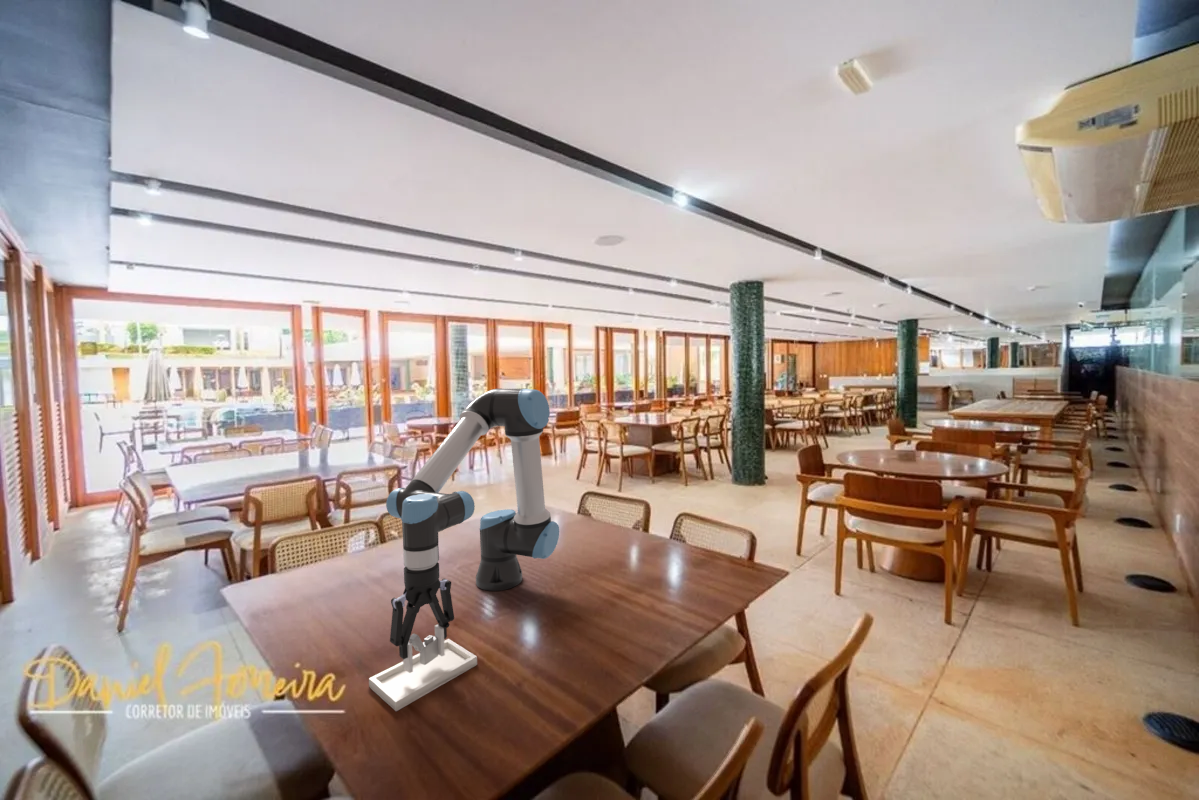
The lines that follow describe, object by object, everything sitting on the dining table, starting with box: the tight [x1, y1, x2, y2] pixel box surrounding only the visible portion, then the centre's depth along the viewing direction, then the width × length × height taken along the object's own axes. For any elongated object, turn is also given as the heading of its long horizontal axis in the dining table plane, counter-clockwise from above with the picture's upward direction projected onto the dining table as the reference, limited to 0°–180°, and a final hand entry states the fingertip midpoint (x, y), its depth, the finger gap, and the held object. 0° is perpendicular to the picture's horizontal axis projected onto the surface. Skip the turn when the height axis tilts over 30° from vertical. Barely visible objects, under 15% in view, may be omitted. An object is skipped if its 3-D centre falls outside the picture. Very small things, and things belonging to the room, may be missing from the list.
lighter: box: [409, 633, 438, 665], centre depth 109 cm, size 7×2×8 cm, turn 153°
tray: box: [368, 638, 478, 712], centre depth 109 cm, size 20×12×2 cm, turn 140°
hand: (424, 661), depth 109 cm, fingers closed on lighter, 7 cm apart
